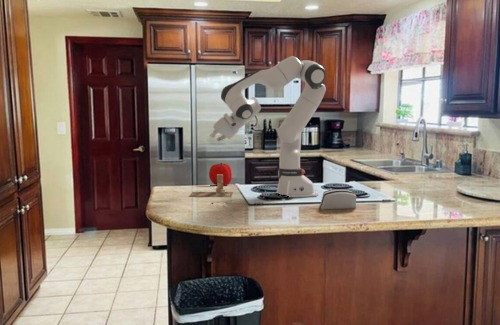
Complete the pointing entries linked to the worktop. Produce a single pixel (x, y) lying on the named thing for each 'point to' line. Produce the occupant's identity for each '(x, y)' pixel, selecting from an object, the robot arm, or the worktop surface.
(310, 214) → the worktop surface
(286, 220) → the worktop surface
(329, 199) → the grey arched slab
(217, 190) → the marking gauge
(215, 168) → the tomato
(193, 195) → the walnut board
